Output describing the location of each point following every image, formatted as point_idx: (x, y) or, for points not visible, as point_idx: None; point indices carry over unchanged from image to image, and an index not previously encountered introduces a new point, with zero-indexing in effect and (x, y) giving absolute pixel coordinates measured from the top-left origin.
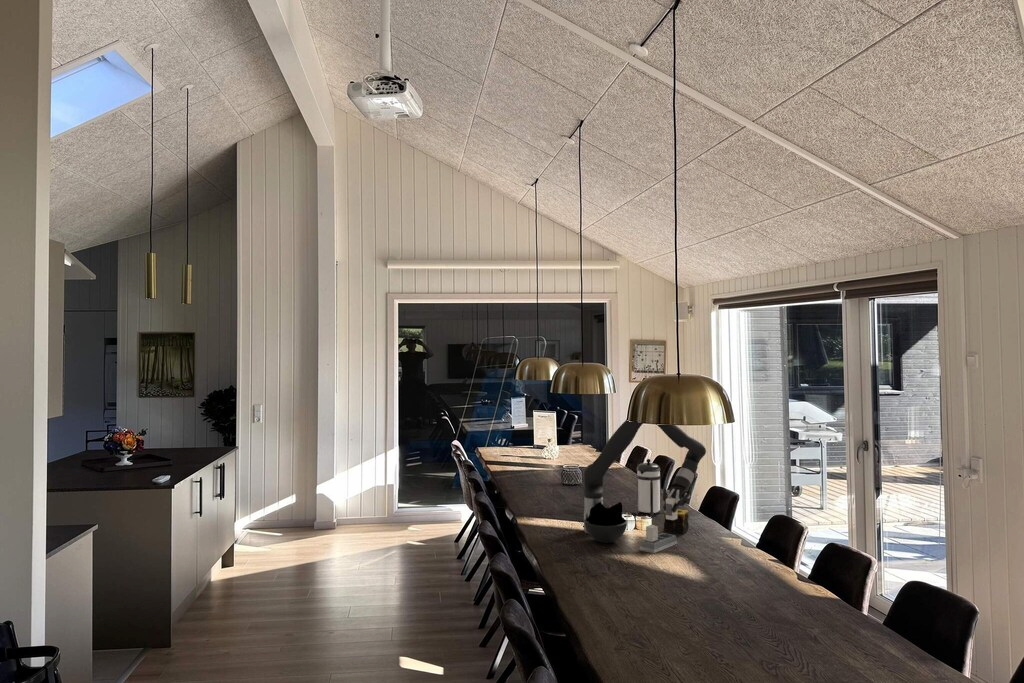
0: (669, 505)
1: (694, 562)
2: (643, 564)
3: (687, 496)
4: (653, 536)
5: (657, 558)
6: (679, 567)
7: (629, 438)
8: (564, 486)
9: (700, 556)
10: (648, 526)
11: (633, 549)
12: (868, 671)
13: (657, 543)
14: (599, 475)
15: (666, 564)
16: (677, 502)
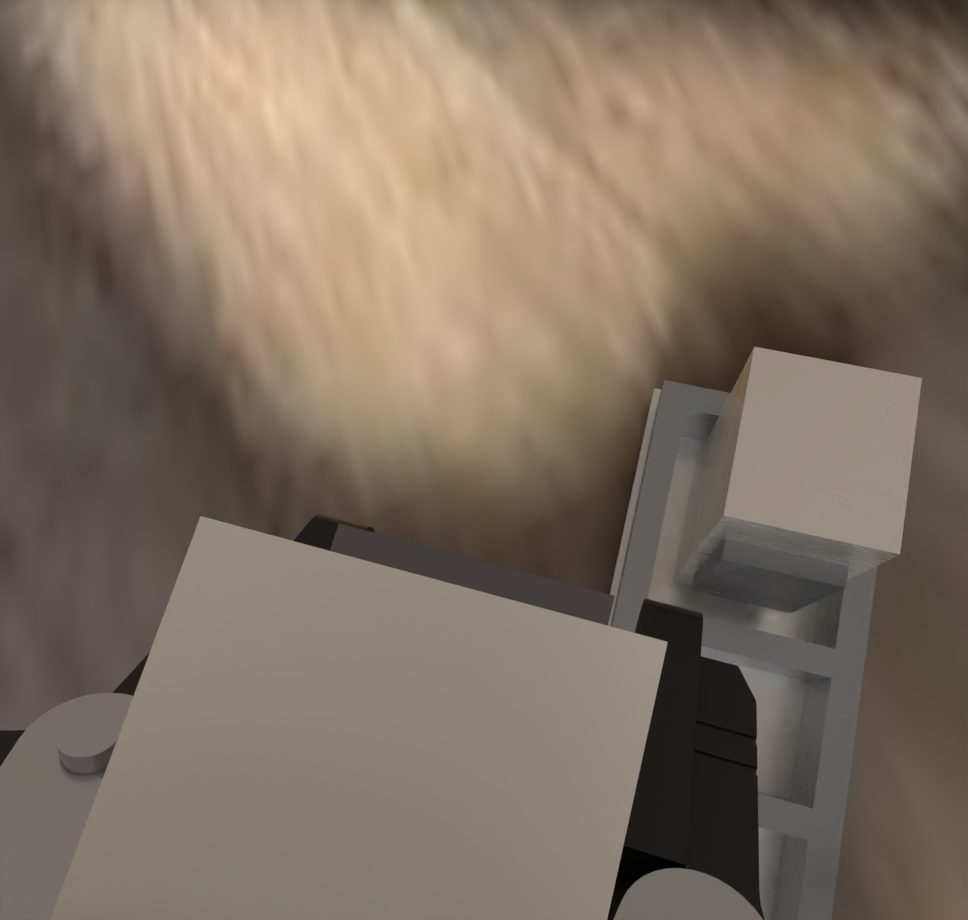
0: (439, 559)
1: (144, 317)
2: (600, 17)
3: None
4: (720, 422)
5: (542, 252)
6: (256, 105)
7: None
8: None
9: (110, 564)
10: (878, 402)
11: (949, 437)
12: None
13: (646, 466)
14: None
15: (395, 123)
16: (42, 717)
